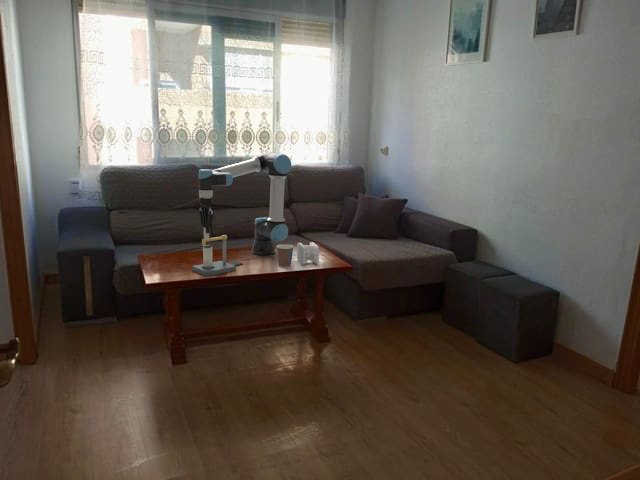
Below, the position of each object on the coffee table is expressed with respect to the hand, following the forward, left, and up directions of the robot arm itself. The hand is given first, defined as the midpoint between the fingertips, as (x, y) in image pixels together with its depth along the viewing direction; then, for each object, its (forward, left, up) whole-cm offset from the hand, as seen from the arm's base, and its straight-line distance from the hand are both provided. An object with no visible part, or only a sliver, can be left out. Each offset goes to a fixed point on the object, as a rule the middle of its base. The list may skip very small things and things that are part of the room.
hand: (206, 238), depth 290 cm
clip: (-1, +7, -2) cm, 8 cm away
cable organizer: (-54, +27, -18) cm, 63 cm away
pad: (-16, +3, -17) cm, 24 cm away
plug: (+4, +7, -17) cm, 19 cm away
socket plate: (0, +7, -17) cm, 19 cm away
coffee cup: (-38, +24, -17) cm, 48 cm away
